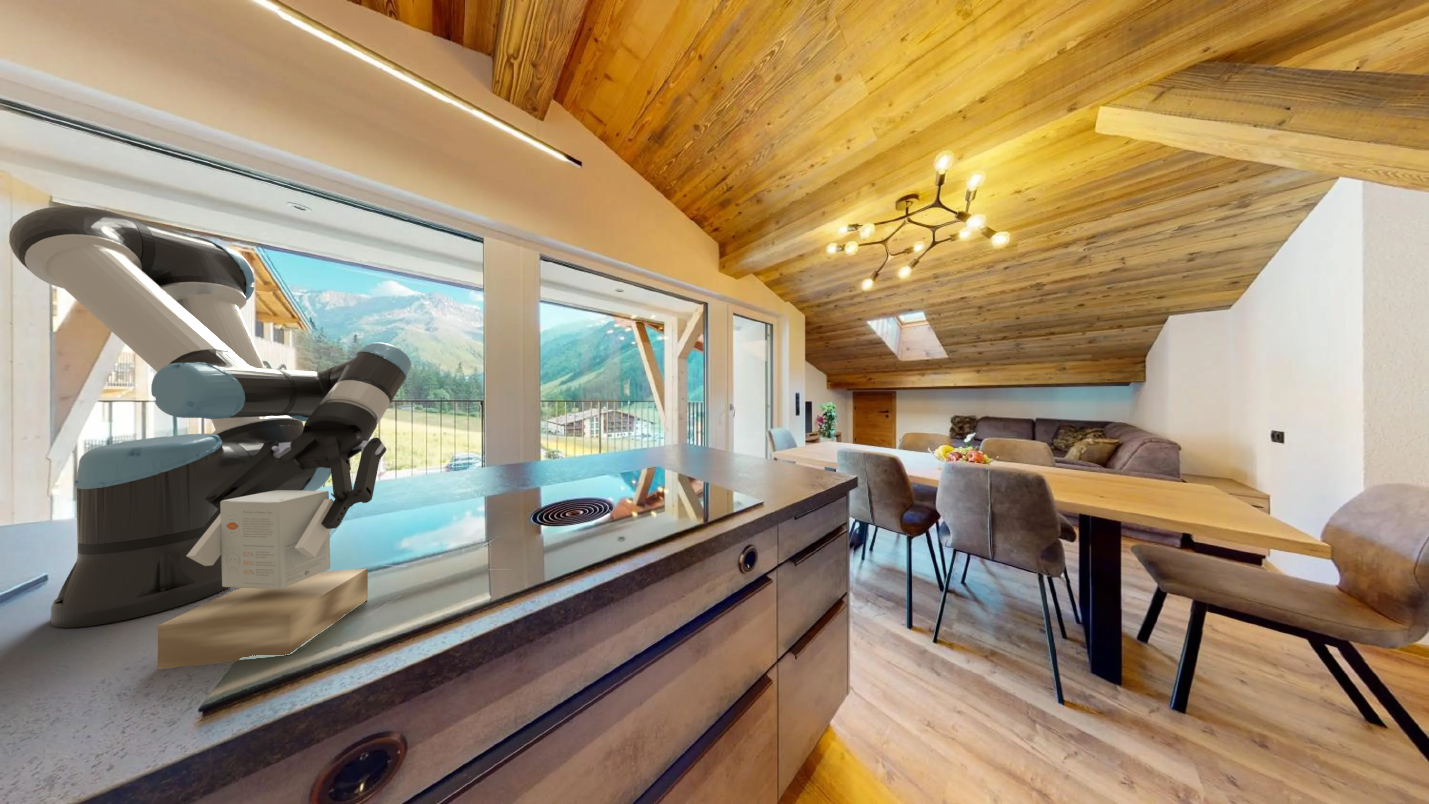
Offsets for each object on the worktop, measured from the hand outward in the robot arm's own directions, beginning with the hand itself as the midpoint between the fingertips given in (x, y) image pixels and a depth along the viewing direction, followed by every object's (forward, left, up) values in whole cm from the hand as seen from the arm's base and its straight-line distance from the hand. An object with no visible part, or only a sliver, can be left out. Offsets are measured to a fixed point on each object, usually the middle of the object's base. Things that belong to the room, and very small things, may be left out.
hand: (253, 556), depth 44 cm
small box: (-3, 0, -4) cm, 5 cm away
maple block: (-3, 0, -11) cm, 11 cm away
